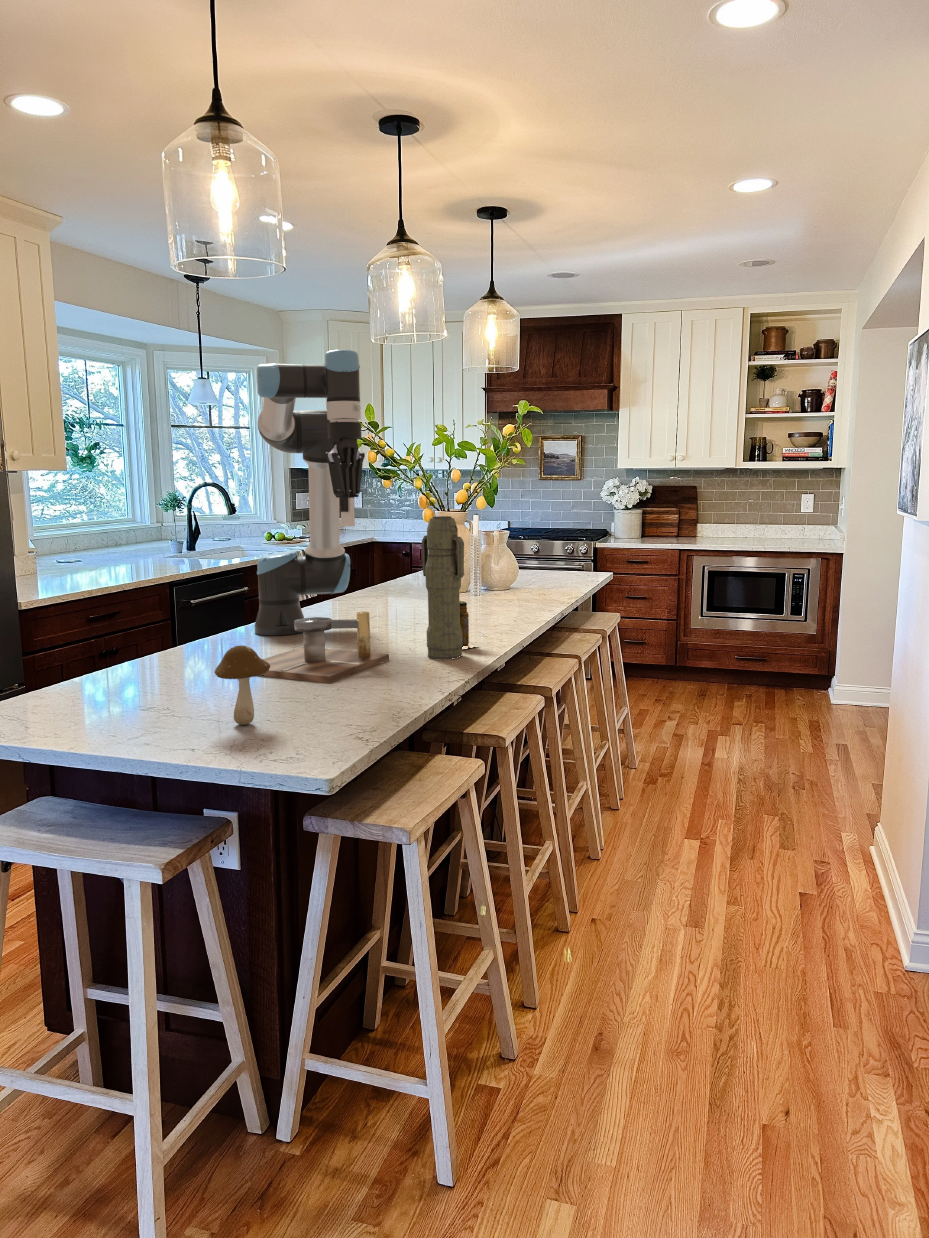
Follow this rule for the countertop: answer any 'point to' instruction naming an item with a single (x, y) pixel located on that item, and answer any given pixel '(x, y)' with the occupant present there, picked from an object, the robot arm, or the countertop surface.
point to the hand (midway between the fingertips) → (348, 526)
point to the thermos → (443, 586)
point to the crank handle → (327, 623)
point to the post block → (319, 661)
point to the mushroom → (242, 678)
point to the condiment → (464, 623)
